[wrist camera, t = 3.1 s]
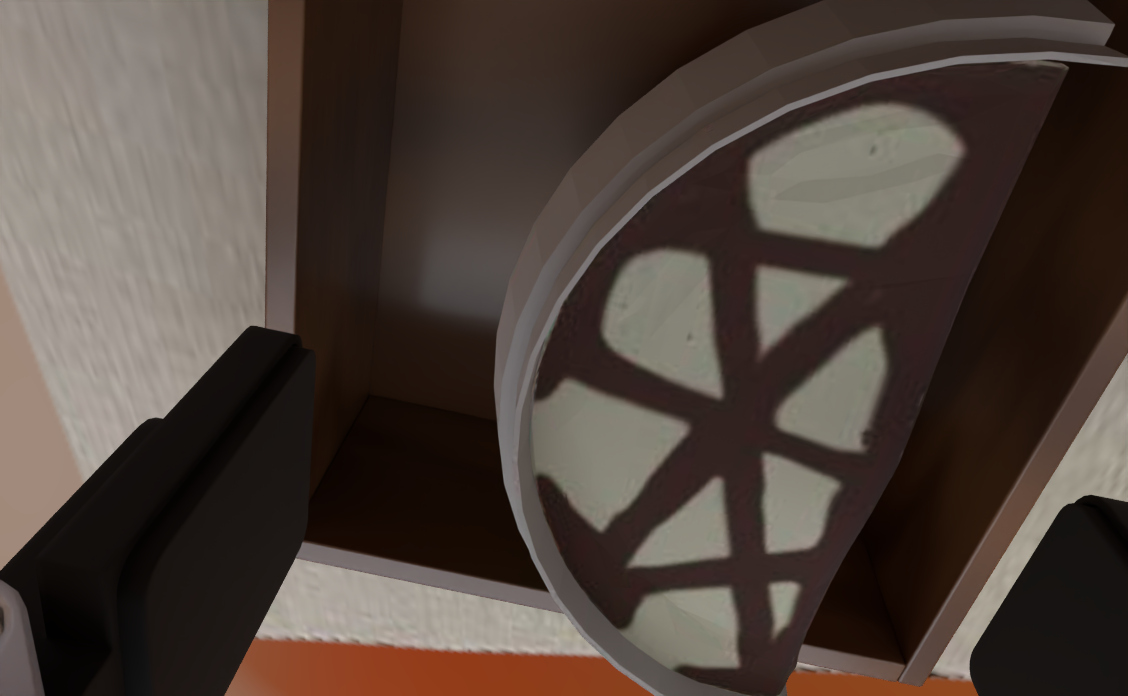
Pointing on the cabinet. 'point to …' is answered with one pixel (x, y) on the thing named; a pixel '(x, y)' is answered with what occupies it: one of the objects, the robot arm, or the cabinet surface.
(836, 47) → the food container
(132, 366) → the cabinet surface
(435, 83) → the chest
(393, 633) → the cabinet surface
